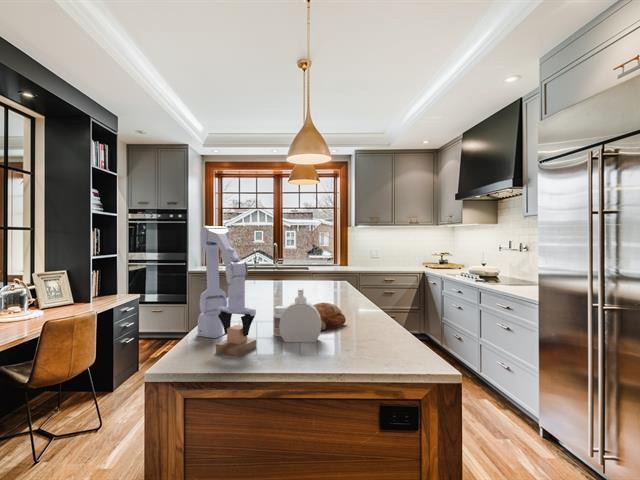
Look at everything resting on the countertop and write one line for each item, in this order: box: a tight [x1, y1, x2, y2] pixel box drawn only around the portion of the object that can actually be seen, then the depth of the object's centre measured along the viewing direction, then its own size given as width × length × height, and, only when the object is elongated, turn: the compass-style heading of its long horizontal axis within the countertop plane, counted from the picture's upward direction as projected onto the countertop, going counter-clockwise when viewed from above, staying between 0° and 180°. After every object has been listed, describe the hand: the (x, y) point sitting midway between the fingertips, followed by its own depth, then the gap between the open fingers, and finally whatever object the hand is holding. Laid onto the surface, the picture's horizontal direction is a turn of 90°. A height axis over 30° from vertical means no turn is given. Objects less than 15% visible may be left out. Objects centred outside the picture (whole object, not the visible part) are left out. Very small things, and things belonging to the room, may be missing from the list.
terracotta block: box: [226, 324, 248, 344], centre depth 130 cm, size 5×5×5 cm
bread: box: [312, 302, 347, 331], centre depth 165 cm, size 20×18×10 cm
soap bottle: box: [279, 288, 322, 344], centre depth 141 cm, size 16×5×20 cm, turn 89°
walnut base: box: [215, 337, 257, 357], centre depth 130 cm, size 10×10×3 cm
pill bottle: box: [273, 305, 287, 337], centre depth 150 cm, size 6×6×11 cm
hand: (236, 334), depth 130 cm, fingers open, 7 cm apart
